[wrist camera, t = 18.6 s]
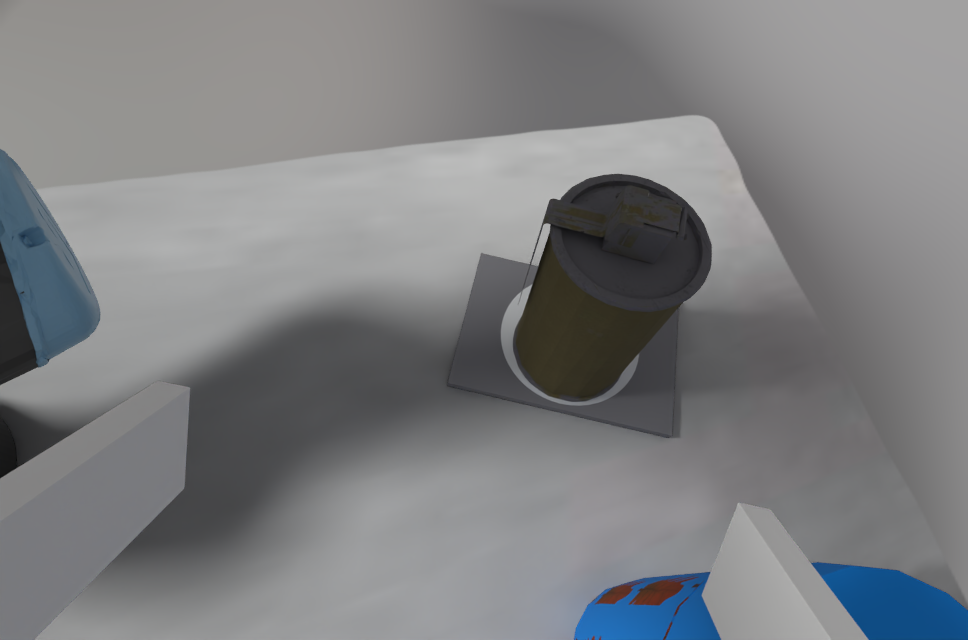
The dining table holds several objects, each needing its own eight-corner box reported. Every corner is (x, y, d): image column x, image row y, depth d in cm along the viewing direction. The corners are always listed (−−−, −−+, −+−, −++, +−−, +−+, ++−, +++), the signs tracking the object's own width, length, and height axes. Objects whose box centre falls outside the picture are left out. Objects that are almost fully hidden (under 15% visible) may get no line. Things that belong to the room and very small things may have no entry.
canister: (631, 315, 52) (737, 169, 34) (615, 416, 47) (729, 307, 29) (522, 284, 52) (571, 124, 35) (495, 382, 48) (536, 253, 30)
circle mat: (447, 385, 48) (447, 382, 47) (480, 257, 54) (481, 252, 54) (668, 438, 48) (672, 435, 47) (675, 303, 54) (679, 298, 53)
